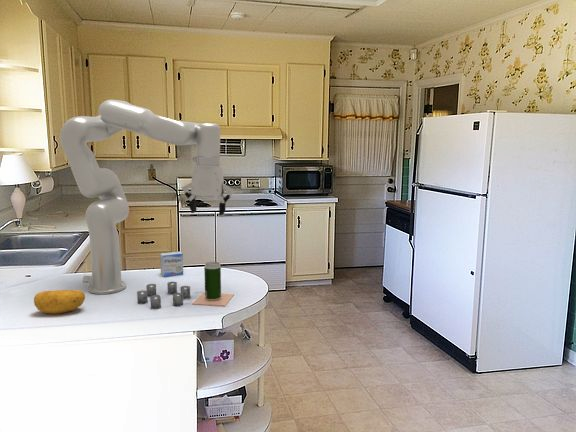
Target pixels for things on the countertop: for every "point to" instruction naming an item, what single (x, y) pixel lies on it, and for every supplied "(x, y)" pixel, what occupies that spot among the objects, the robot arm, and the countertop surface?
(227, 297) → the terracotta tile
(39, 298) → the potato
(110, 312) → the countertop surface
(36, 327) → the countertop surface
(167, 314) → the countertop surface
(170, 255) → the medicine box
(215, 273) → the beer can
